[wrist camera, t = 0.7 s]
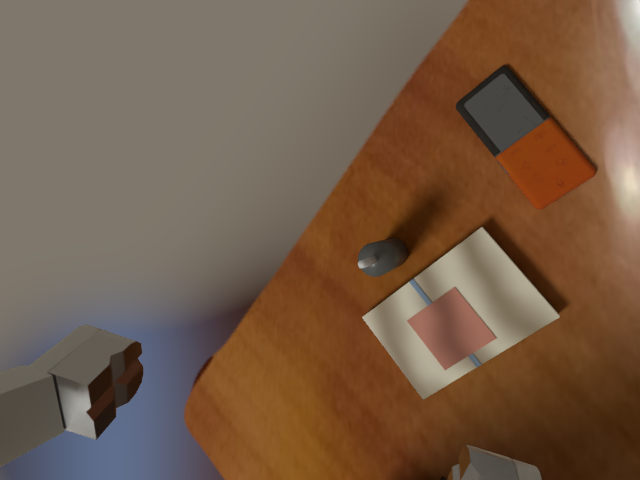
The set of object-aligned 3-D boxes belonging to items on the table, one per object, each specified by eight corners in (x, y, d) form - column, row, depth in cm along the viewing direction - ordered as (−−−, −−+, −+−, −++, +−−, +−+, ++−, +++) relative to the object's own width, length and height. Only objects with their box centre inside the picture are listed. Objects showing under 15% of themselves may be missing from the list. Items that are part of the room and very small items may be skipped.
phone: (538, 211, 42) (452, 104, 45) (537, 211, 43) (454, 107, 46) (600, 172, 40) (505, 61, 43) (597, 173, 41) (505, 65, 44)
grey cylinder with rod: (395, 232, 49) (364, 238, 39) (413, 255, 49) (387, 268, 38) (373, 250, 51) (337, 260, 40) (391, 272, 50) (359, 289, 39)
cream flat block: (482, 226, 45) (481, 227, 44) (558, 313, 43) (560, 317, 41) (365, 314, 52) (361, 317, 50) (425, 394, 49) (422, 400, 48)
